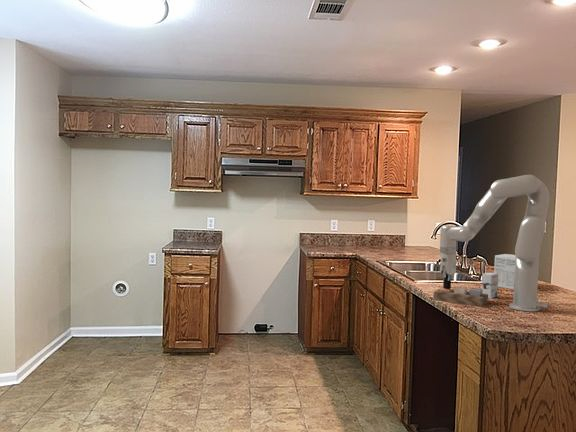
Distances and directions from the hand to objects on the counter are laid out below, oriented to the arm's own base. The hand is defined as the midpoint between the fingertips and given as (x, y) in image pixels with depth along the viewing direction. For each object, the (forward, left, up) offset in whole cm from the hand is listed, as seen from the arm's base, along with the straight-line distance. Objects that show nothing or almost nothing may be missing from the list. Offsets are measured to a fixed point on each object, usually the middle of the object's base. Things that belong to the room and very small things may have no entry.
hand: (447, 288), depth 235 cm
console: (-7, 0, -5) cm, 8 cm away
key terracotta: (0, 0, -4) cm, 4 cm away
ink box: (-15, -21, -5) cm, 26 cm away
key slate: (-14, 0, -2) cm, 14 cm away
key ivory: (-7, 0, -3) cm, 7 cm away
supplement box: (-17, -58, -5) cm, 60 cm away
